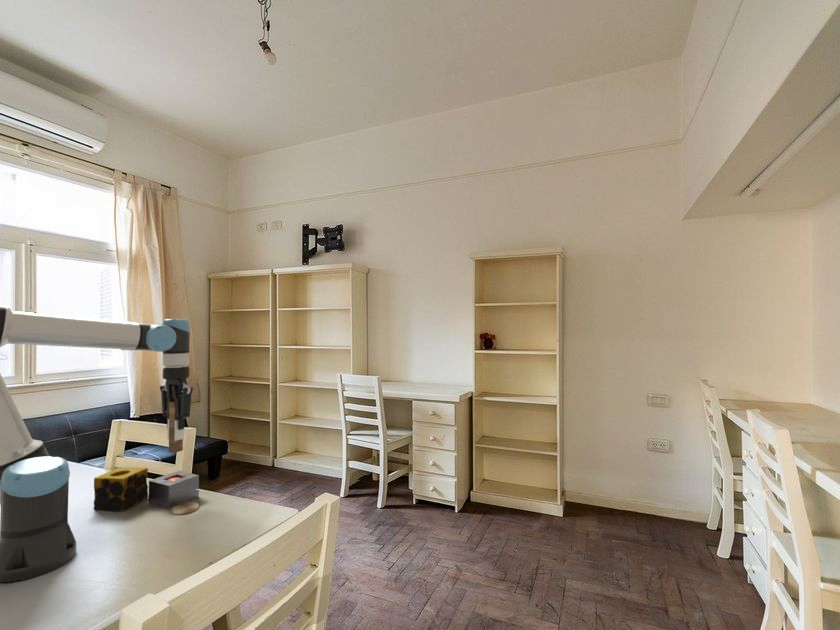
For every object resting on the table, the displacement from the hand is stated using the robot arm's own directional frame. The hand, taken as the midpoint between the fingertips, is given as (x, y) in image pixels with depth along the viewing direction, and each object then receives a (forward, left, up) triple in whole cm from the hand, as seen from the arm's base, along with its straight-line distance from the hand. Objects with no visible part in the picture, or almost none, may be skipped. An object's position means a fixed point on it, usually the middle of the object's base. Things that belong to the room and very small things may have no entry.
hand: (175, 438), depth 132 cm
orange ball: (0, 0, -17) cm, 17 cm away
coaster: (-3, -10, -20) cm, 22 cm away
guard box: (0, 0, -20) cm, 20 cm away
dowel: (0, 0, -4) cm, 4 cm away
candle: (-9, +12, -20) cm, 25 cm away
